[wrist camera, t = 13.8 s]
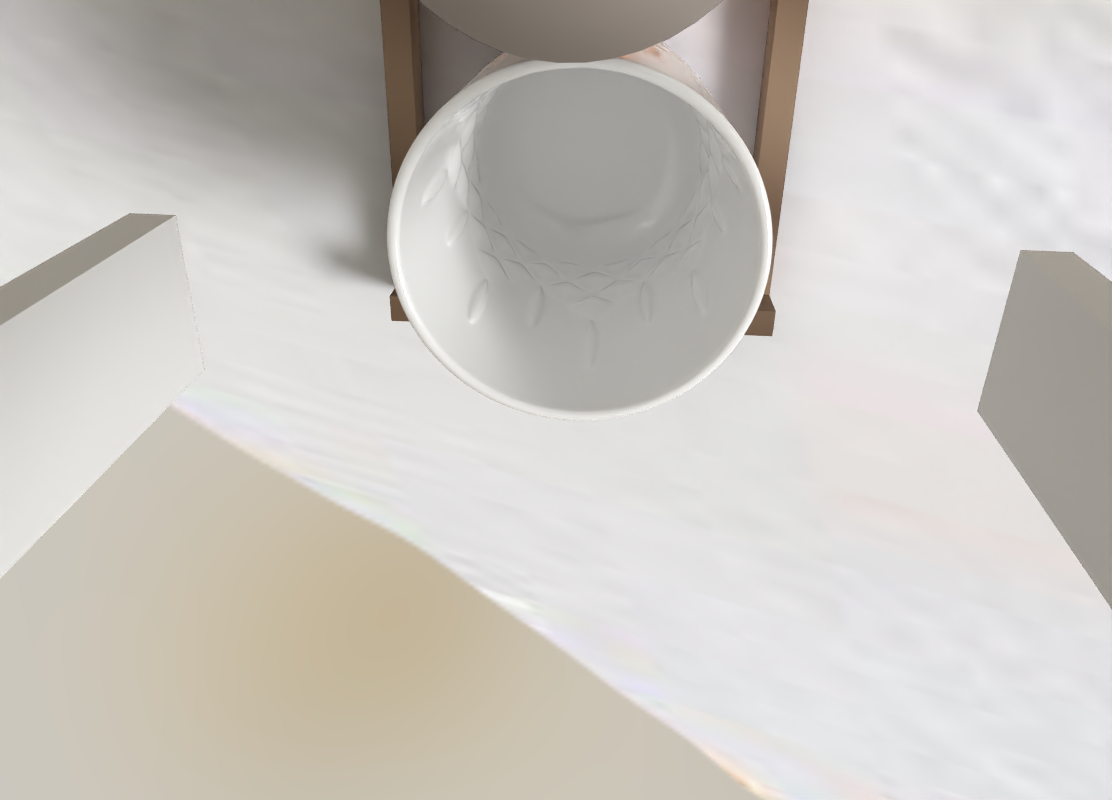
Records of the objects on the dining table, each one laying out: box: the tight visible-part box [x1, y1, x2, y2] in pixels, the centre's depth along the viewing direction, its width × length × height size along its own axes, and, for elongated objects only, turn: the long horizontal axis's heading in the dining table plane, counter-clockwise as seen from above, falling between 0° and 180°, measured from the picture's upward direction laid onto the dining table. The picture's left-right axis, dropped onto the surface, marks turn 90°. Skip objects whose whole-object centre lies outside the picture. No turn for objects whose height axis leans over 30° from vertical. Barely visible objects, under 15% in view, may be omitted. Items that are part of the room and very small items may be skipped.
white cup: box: [387, 41, 772, 420], centre depth 23 cm, size 8×8×10 cm
